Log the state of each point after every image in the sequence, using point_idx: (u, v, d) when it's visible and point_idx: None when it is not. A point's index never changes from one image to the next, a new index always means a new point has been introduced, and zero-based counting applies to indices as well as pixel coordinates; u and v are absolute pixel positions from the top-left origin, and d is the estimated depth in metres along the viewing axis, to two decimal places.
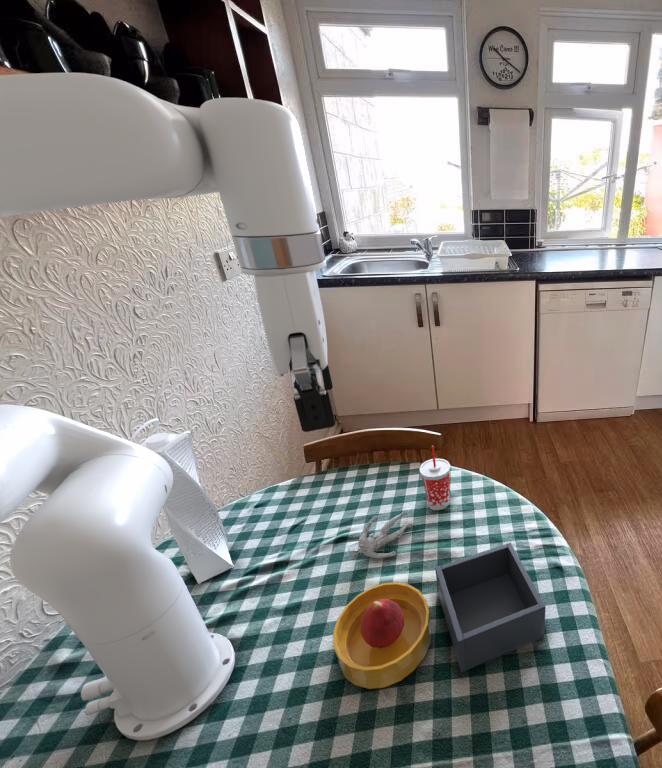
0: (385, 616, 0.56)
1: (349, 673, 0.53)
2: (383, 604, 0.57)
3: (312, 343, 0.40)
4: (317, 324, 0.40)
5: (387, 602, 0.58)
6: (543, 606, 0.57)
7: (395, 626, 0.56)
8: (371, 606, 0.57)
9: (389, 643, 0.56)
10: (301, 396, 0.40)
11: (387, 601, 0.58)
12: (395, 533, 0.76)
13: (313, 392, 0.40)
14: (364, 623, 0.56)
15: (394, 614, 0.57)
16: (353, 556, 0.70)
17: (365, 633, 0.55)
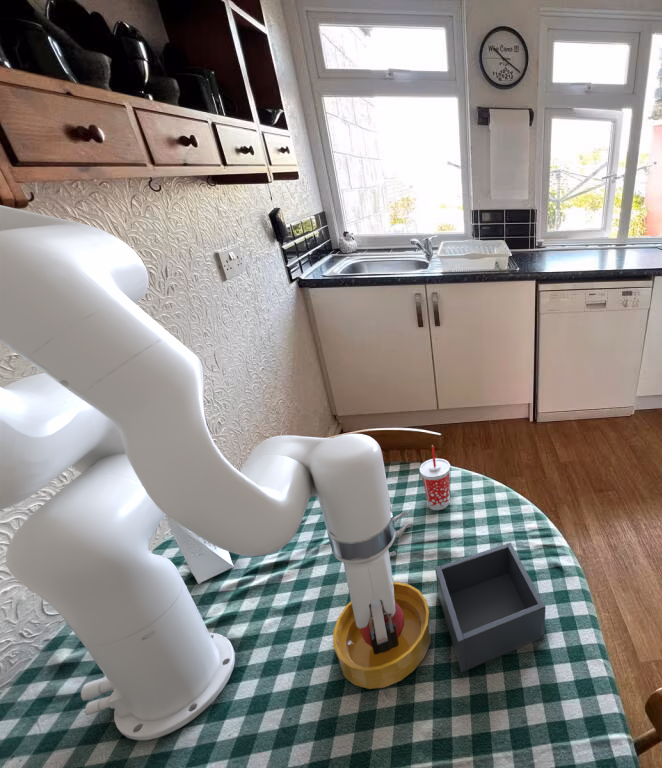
0: None
1: (349, 673, 0.53)
2: None
3: (386, 604, 0.50)
4: (391, 590, 0.50)
5: None
6: (543, 606, 0.57)
7: (395, 626, 0.56)
8: None
9: None
10: None
11: None
12: None
13: None
14: None
15: (394, 614, 0.57)
16: None
17: (365, 633, 0.55)
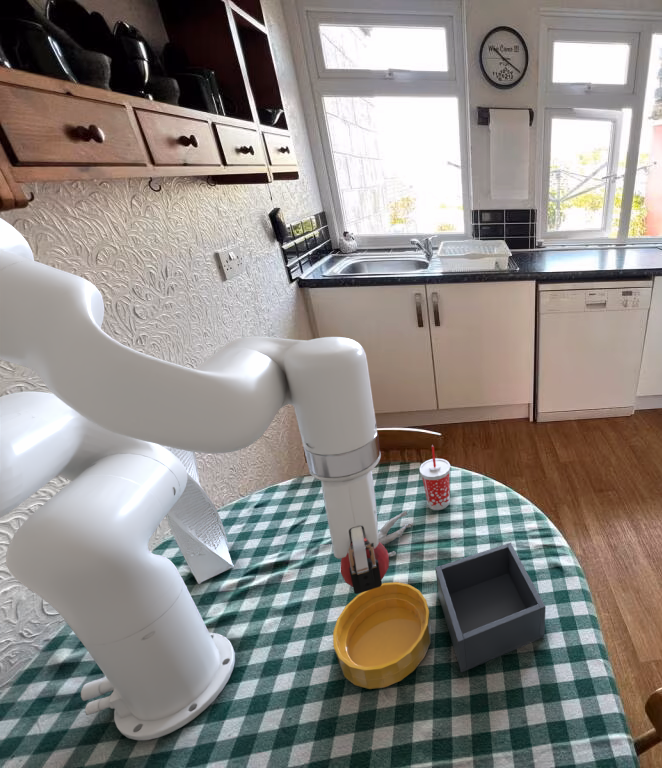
0: (367, 553, 0.51)
1: (349, 673, 0.53)
2: (366, 540, 0.51)
3: (368, 532, 0.45)
4: (373, 516, 0.45)
5: None
6: (543, 606, 0.57)
7: (379, 565, 0.51)
8: None
9: None
10: None
11: None
12: (395, 533, 0.76)
13: None
14: (344, 560, 0.51)
15: (378, 552, 0.52)
16: None
17: (345, 571, 0.50)
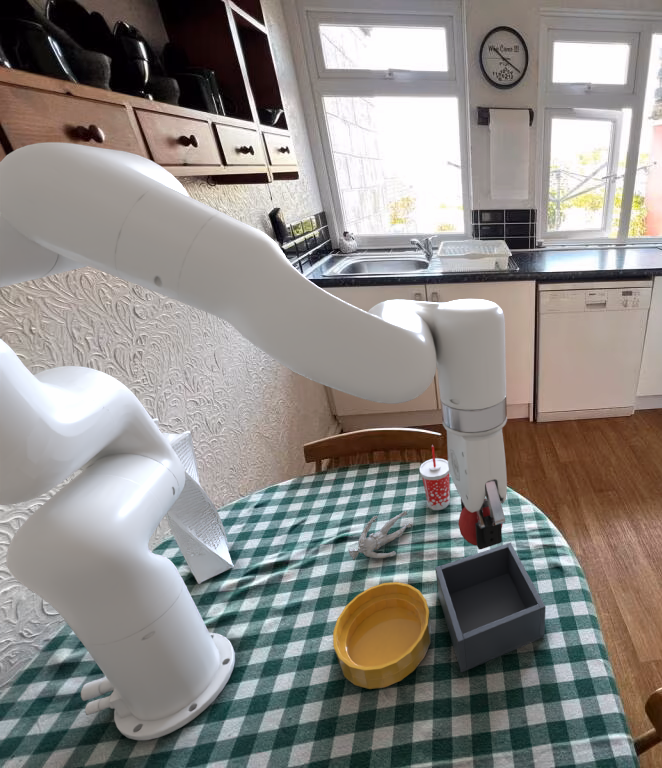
0: (487, 511, 0.53)
1: (349, 673, 0.53)
2: None
3: (501, 486, 0.47)
4: (505, 470, 0.47)
5: None
6: (543, 606, 0.57)
7: None
8: None
9: None
10: (486, 527, 0.49)
11: None
12: (395, 533, 0.76)
13: None
14: (465, 518, 0.53)
15: None
16: (353, 556, 0.70)
17: (467, 528, 0.53)
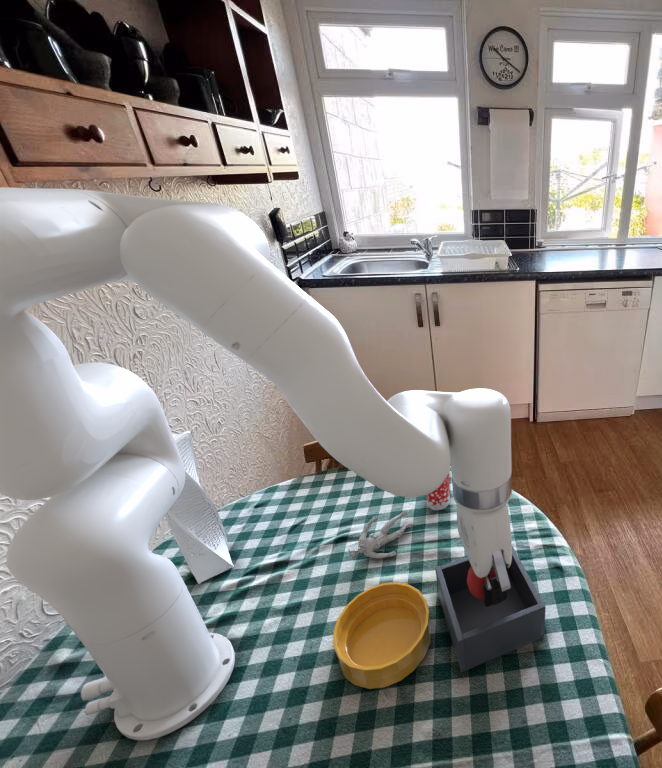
0: None
1: (349, 673, 0.53)
2: None
3: (506, 554, 0.52)
4: None
5: None
6: (543, 606, 0.57)
7: None
8: None
9: None
10: (493, 589, 0.54)
11: None
12: (395, 533, 0.76)
13: None
14: (473, 577, 0.58)
15: None
16: (353, 556, 0.70)
17: (475, 586, 0.57)
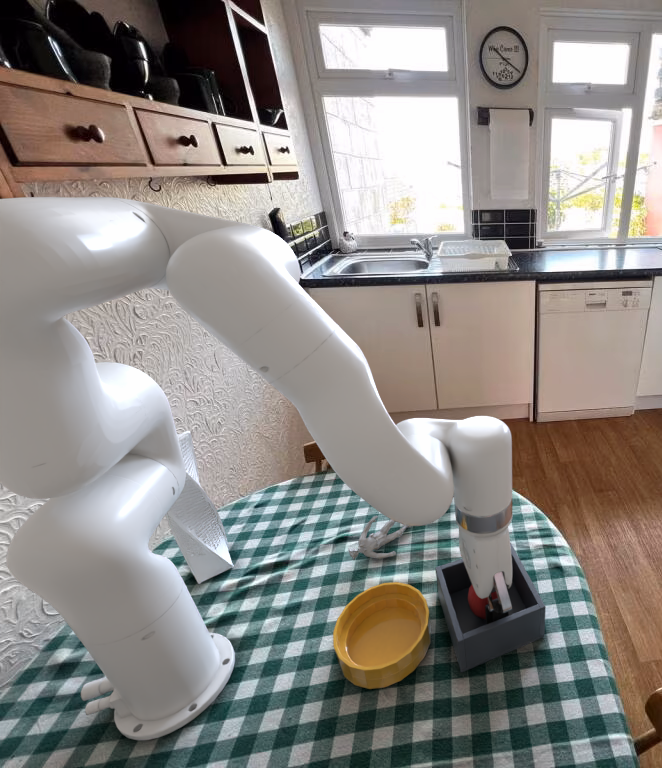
0: None
1: (349, 673, 0.53)
2: None
3: (507, 576, 0.54)
4: (511, 562, 0.54)
5: None
6: (543, 606, 0.57)
7: None
8: None
9: None
10: (495, 611, 0.55)
11: None
12: (395, 533, 0.76)
13: None
14: (474, 595, 0.59)
15: None
16: (353, 556, 0.70)
17: (475, 605, 0.59)
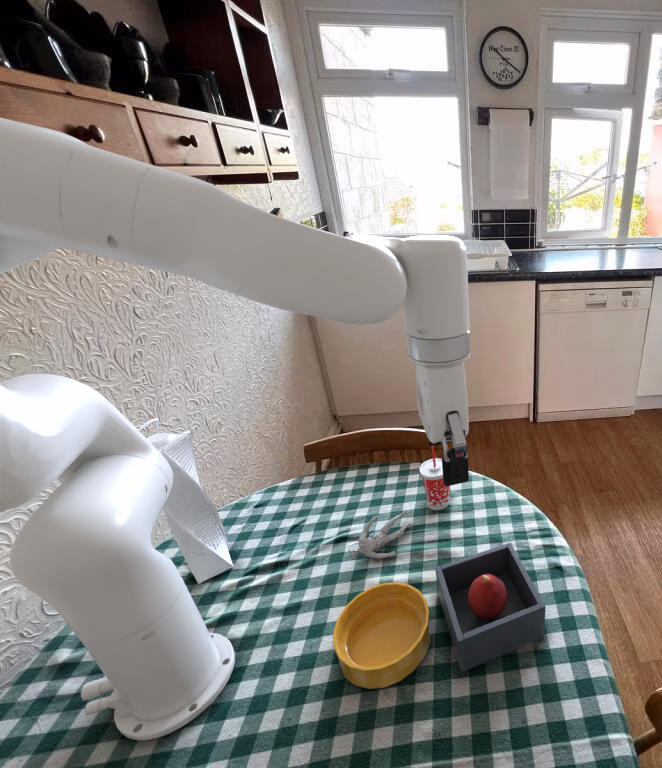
0: (493, 589, 0.59)
1: (349, 673, 0.53)
2: (490, 578, 0.60)
3: (462, 418, 0.49)
4: (467, 403, 0.49)
5: (492, 576, 0.61)
6: (543, 606, 0.57)
7: (503, 598, 0.60)
8: (478, 580, 0.60)
9: (497, 615, 0.60)
10: (451, 460, 0.49)
11: (492, 576, 0.61)
12: (395, 533, 0.76)
13: (461, 458, 0.49)
14: (474, 595, 0.59)
15: (500, 587, 0.60)
16: (353, 556, 0.70)
17: (475, 605, 0.59)
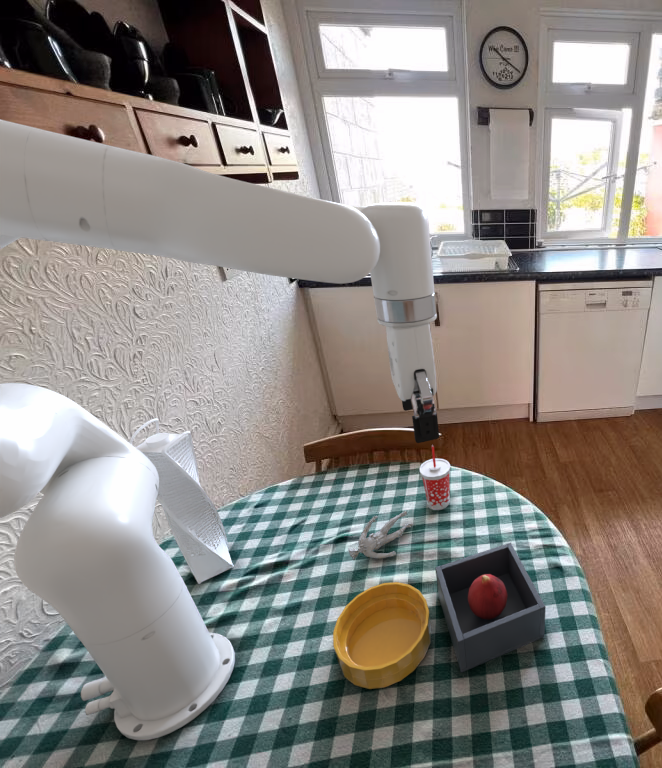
0: (493, 589, 0.59)
1: (349, 673, 0.53)
2: (490, 578, 0.60)
3: (429, 376, 0.53)
4: (433, 362, 0.52)
5: (492, 576, 0.61)
6: (543, 606, 0.57)
7: (503, 598, 0.60)
8: (478, 580, 0.60)
9: (497, 615, 0.60)
10: (420, 416, 0.53)
11: (492, 576, 0.61)
12: (395, 533, 0.76)
13: (430, 413, 0.53)
14: (474, 595, 0.59)
15: (500, 587, 0.60)
16: (353, 556, 0.70)
17: (475, 605, 0.59)
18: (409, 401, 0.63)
